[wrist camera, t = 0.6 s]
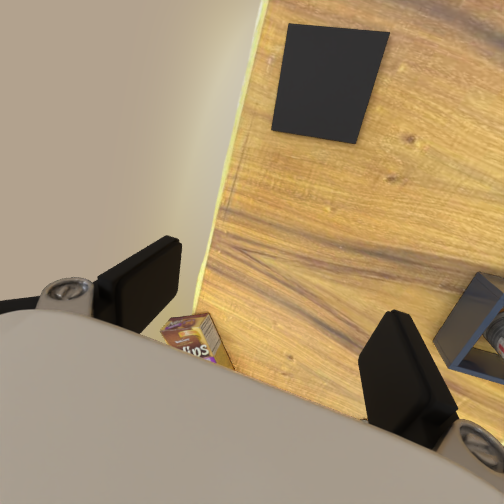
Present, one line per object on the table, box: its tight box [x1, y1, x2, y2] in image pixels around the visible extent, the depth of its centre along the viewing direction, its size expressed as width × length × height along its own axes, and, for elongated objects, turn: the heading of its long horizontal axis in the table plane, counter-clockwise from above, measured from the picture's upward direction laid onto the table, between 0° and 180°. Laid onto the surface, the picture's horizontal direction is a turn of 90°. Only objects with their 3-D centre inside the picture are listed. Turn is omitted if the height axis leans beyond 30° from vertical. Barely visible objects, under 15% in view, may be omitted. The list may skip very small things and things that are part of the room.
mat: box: [271, 23, 390, 144], centre depth 27 cm, size 10×10×1 cm
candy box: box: [160, 313, 235, 371], centre depth 47 cm, size 9×4×15 cm
